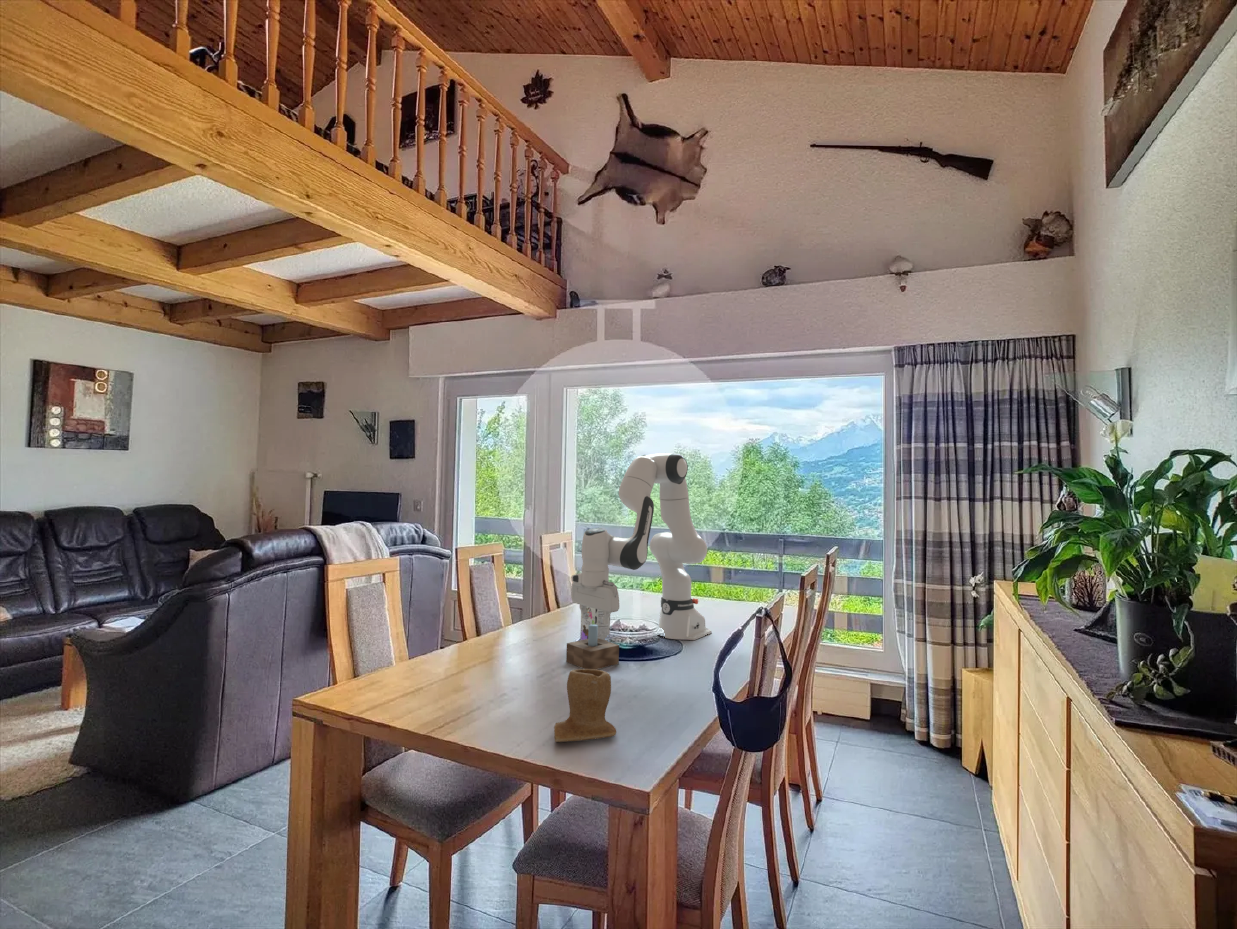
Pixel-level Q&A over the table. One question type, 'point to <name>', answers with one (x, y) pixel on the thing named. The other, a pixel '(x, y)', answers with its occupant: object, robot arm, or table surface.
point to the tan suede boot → (586, 707)
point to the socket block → (592, 654)
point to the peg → (592, 635)
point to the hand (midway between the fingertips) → (594, 621)
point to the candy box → (594, 619)
